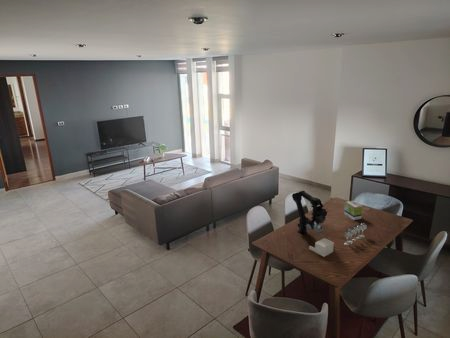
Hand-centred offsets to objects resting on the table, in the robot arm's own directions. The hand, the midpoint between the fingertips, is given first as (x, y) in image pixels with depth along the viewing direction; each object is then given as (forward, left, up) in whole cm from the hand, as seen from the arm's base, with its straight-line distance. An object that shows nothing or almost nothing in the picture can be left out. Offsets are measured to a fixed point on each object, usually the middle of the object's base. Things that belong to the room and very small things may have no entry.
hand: (314, 228), depth 275 cm
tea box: (-5, +68, -11) cm, 69 cm away
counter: (+16, -10, -11) cm, 22 cm away
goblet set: (+23, +28, -11) cm, 38 cm away
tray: (0, 0, -1) cm, 1 cm away
